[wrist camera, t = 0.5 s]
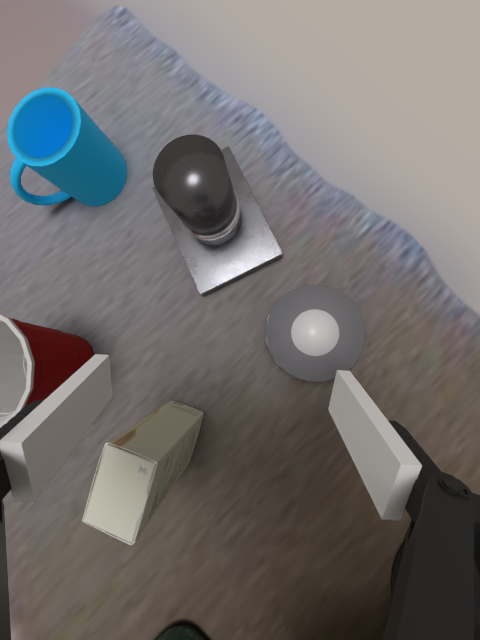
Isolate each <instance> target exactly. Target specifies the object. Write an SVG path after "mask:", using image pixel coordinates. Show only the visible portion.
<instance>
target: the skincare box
mask: <svg viewBox="0 0 480 640" xmlns="http://www.w3.org/2000/svg"><path fill="white" fill-rule="evenodd" d="M203 416H204V412H203V411H200V410H198V409H195V408H193V407H190V406H188V405H185V404H182V403H179V402H176V401H170V402H168V403H167V404H165V405H164V406H162V407H160V408H159V409H157V410H156V411H154V412H153V413H151V414H150V415H148V416H147V417H145V418H144V419H142V420H140V421H139V422H137V423H136V424H134V425H133V426H131V427H130V428H128V429H127V430H125V431H124V432H122V433H120V434H119V435H117V436H116V437H114V438H113V439H111V440H110V441H108V442H106V443H105V445H104V448H103V451H102V454H101V456H100V460H99V462H98V466H97V469H96V472H95V476H94V479H93V483H92V486H91V490H90V493H89V497H88V500H87V504H86V508H85V512H84V516H83V519H82V520H83V522H84V523H86V524H88V525H91V526H92V527H94V528H96V529H98V530H100V531H102V532H104V533H106V534H108V535H110V536H112V537H114V538H116V539H118V540H121V541H123V542H125V543H127V544H129V545H133V544H134V543H135V542H136V540H137V539H138V537H139V536H140V534H141V533H142V531H143V530H144V528H145V527H146V525H147V524H148V522H149V521H150V519H151V518H152V517H153V515H154V514H155V512H156V511H157V509H158V508H159V506H160V505H161V503H162V502H163V500H164V499H165V498H166V496H167V495H168V493H169V492H170V490H171V489H172V487H173V486H174V484H175V483H176V481H177V480H178V478H179V477H180V475H181V474H182V473H183V471H184V470H185V468H186V467H187V465H188V464H189V462H190V460H191V457H192V454H193V451H194V448H195V445H196V441H197V438H198V434H199V431H200V427H201V424H202V420H203Z"/></svg>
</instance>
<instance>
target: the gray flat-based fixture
mask: <svg viewBox="0 0 480 640" xmlns="http://www.w3.org/2000/svg"><path fill="white" fill-rule="evenodd" d="M153 181H154V185H155V187H154V188H153V190H154V193H155V195H156V197H157V199H158V202H159V204H160V206H161V208H162V210H163V213H164V215H165V217H166V219H167V221H168V224H169V226H170V228H171V230H172V233H173V235H174V237H175V239H176V241H177V244H178V246H179V248H180V250H181V252H182V255H183V257H184V259H185V261H186V264H187V266H188V268H189V270H190V272H191V275H192V277H193V279H194V281H195V284H196V286H197V288H198V290H199V292H200V294H201V295H203V296H206V295H208V294H210V293H212V292H214V291H216V290H218V289H220V288H222V287H224V286H226V285H228V284H230V283H232V282H234V281H236V280H238V279H240V278H242V277H244V276H246V275H248V274H250V273H252V272H254V271H256V270H258V269H260V268H262V267H264V266H266V265H268V264H270V263H272V262H274V261H276V260H278V259H280V258H282V252H281V250H280V248H279V246H278V244H277V242H276V240H275V238H274V236H273V234H272V232H271V230H270V228H269V226H268V224H267V222H266V220H265V218H264V216H263V214H262V212H261V210H260V208H259V206H258V204H257V202H256V200H255V198H254V196H253V194H252V192H251V190H250V188H249V186H248V184H247V182H246V180H245V178H244V176H243V174H242V172H241V170H240V168H239V166H238V164H237V162H236V160H235V158H234V156H233V154H232V152H231V150H230V148H229V146H228V147H226V148H224V149H222V150H220V148H219V147H218V146H217V144H215V143H214V142H213V141H212V140H210V139H209V138H206V137H204V136H200V135H185V136H181V137H179V138H176V139H174V140H173V141H171V142H170V143H168V144H167V145H166V146H165V147H164V148H163V149H162V151H161V152H160V153H159V155H158V157H157V159H156V161H155V164H154V169H153Z"/></svg>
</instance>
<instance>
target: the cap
mask: <svg viewBox="0 0 480 640" xmlns="http://www.w3.org/2000/svg"><path fill="white" fill-rule="evenodd" d="M365 338H366V329H365V323H364V320H363V317H362V314H361V312H360V310H359V309H358V307H357V306H356V304H355V303H354V302H353V301H352V300H351V299H350V298H349V297H348V296H347V295H345V294H344V293H342V292H341V291H339V290H337V289H334V288H332V287H328V286H324V285H306V286H302V287H299V288H296V289H294V290H292V291H290V292H288V293H287V294H285V295H284V296H282V297H281V298H280V300H279V301H278V302H277V303H276V304H275V306H274V307H273V309H272V311H271V313H270V314H269V316H268V318H267V326H266V343H267V345H268V348H269V350H270V353H271V354H272V356H273V358H274V360H275V362H276V364H277V365H279V366H280V367H281V368H282V369H284V370H285V371H286V372H287V373H289V374H291V375H292V376H294V377H296V378H298V379H302V380H306V381H313V382H320V381H327V380H331V379H334V378H335V376H336V372H337V370H343V371H348V370H349V369H351V368H352V367H353V366H354V364H355V363H356V362H357V361H358V359H359V357H360V356H361V353H362V351H363V348H364V345H365Z"/></svg>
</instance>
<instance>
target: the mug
mask: <svg viewBox="0 0 480 640" xmlns="http://www.w3.org/2000/svg"><path fill="white" fill-rule="evenodd" d="M7 136H8V144H9V146H10V148H11V151H12V153H13V154H14V155H15V156H16V157H17V158H16V159H15V160H14V163H13V165H12V168H11V171H10V182H11V185H12V187H13V189H14V191H15V193H16V194H17V195H18V196H19V197H21V198H22V199H23V200H24V201H26V202H29V203H32V204H35V205H52V204H57V203H60V202H62V201H65V200H67V199H69V198H70V197H73V198H75V199H76V200H78V201H79V202H81V203H83V204H85V205H88V206H100V205H104V204H107V203H108V202H110V201H112V200H113V199H115V198H116V196H117V195H118V194H119V193H120V192H121V191H122V189H123V186H124V184H125V182H126V177H127V167H126V162H125V160H124V158H123V156H122V154H121V153H120V152H119V151H118V150H117V149H116V147H115V146H114V145H113V144H112V143H111V141H110V140H109V139H108V138H107V137H106V136H105V134H104V133H103V132H102V131H101V130H100V129H99V127H98V126H97V125H96V124H95V123H94V122H93V120H92V119H91V118H90V117H89V116H88V115H87V113H86V112H85V111H84V110H83V109H82V108H81V106H80V105H79V104H78V103H77V102H76V101H75V99H74V98H73V97H71V96H70V95H69V94H68V93H67V92H66V91H63V90H60V89H58V88H42V89H39V90H36V91H33V92H32V93H30V94H29V95H27V96H26V97H25V98H23V99H22V100H21V102H20V103H19V104H18V105H17V106H16V108H15V109H14V111H13V113H12V115H11V117H10V119H9V124H8V130H7ZM26 166H28V167H29V168H31V169H32V170H34V171H35V172H37V173H38V174H40V175H41V176H43V177H44V178H45V179H47V180H48V181H50V182H51V183H53V184H54V185H56V186H57V187H59V188H60V189H62V190H63V191H61V192H58V193H56V194H54V195H48V196H35V195H32V194H30V193H28V192H26V191H25V190H24V189H23V187H22V185H21V175H22V172H23V170H24V168H25V167H26Z"/></svg>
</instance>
